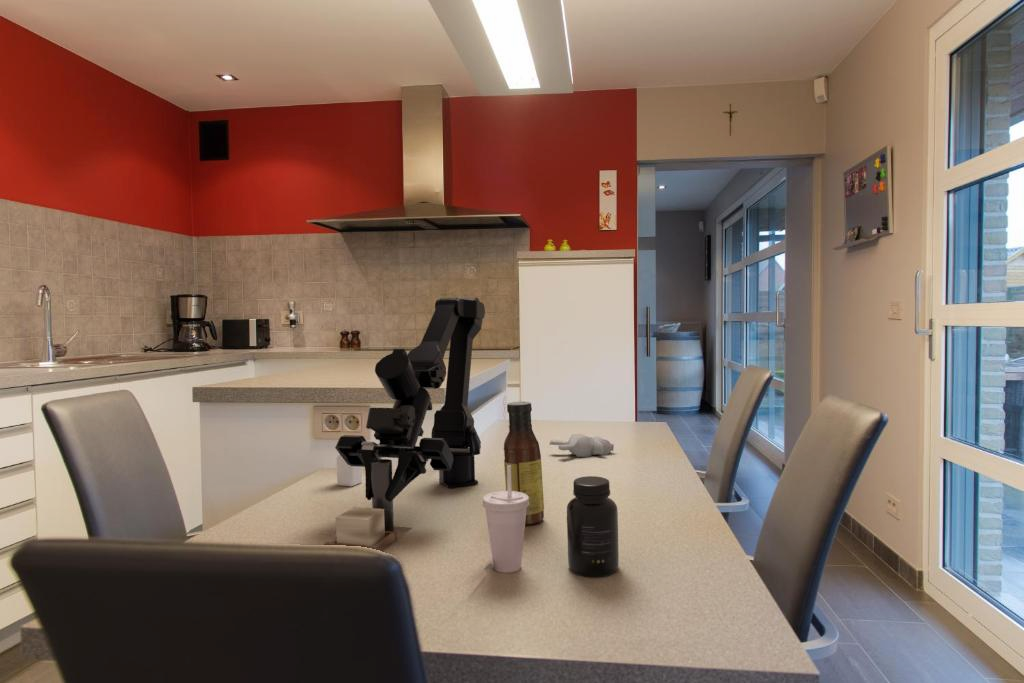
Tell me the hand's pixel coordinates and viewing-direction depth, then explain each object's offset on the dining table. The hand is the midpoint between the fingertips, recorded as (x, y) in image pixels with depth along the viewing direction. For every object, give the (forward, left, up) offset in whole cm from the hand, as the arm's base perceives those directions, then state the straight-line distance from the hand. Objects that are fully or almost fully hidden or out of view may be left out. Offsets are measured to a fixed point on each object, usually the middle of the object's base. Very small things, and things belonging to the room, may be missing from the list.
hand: (378, 499), depth 95 cm
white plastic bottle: (-3, -36, -7) cm, 37 cm away
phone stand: (+2, +2, -6) cm, 7 cm away
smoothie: (-13, +19, -7) cm, 24 cm away
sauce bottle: (-24, +3, -7) cm, 25 cm away
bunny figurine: (-59, -34, -7) cm, 68 cm away
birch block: (+4, +4, -5) cm, 8 cm away
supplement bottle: (-23, +24, -7) cm, 34 cm away
